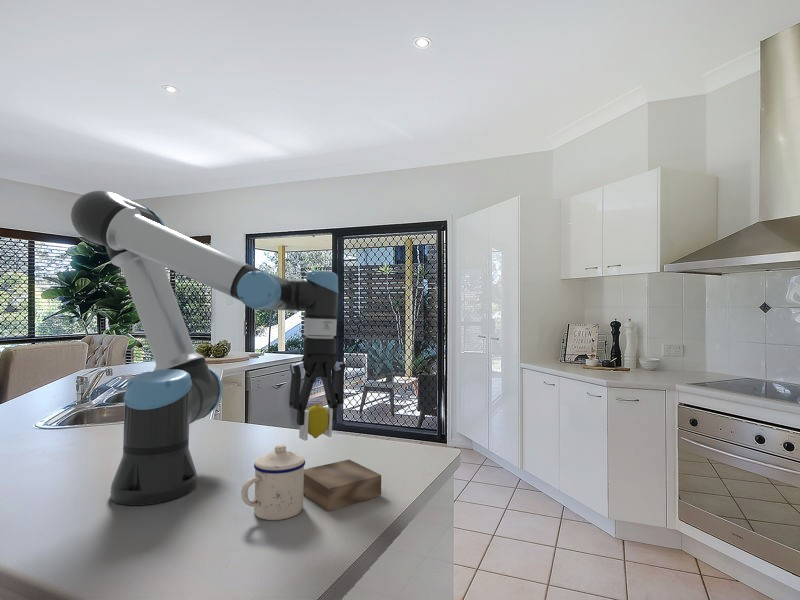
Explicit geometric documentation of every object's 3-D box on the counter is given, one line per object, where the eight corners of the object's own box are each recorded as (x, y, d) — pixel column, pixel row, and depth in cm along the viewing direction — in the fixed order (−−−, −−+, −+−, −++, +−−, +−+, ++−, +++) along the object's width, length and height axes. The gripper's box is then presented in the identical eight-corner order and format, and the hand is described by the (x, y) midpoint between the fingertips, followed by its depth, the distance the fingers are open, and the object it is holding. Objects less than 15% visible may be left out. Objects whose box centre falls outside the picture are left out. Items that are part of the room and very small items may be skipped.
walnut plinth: (327, 511, 81) (328, 488, 81) (298, 490, 91) (299, 470, 91) (381, 495, 89) (381, 475, 89) (348, 477, 98) (349, 459, 98)
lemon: (325, 442, 101) (326, 406, 101) (300, 441, 101) (302, 405, 101) (329, 435, 106) (330, 401, 106) (306, 434, 106) (307, 400, 107)
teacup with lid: (284, 496, 88) (286, 436, 88) (314, 509, 82) (315, 445, 82) (227, 516, 78) (229, 449, 79) (256, 533, 73) (258, 461, 73)
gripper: (289, 338, 96) (284, 447, 95) (361, 338, 107) (357, 435, 106) (275, 336, 102) (270, 438, 101) (345, 336, 113) (341, 428, 112)
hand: (315, 436), depth 103 cm, fingers closed on lemon, 5 cm apart
